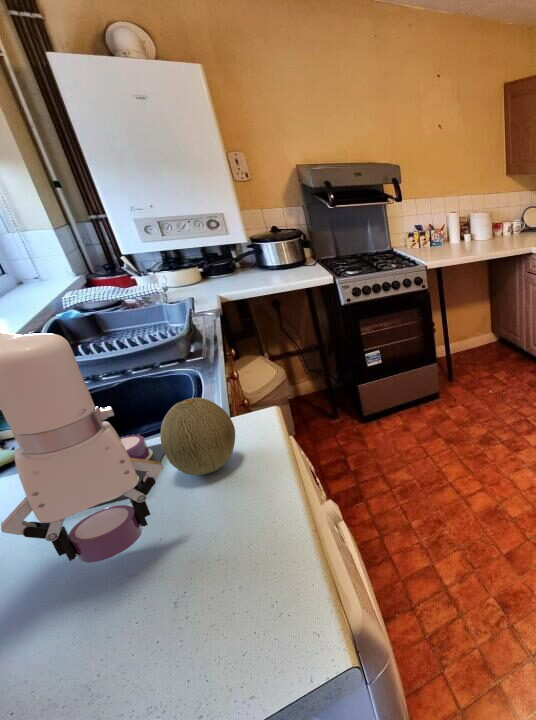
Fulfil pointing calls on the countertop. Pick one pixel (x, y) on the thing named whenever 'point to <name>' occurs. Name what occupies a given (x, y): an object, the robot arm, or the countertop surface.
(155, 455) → the mat
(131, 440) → the dish
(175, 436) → the fruit
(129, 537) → the dish
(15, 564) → the countertop surface
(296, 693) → the countertop surface
